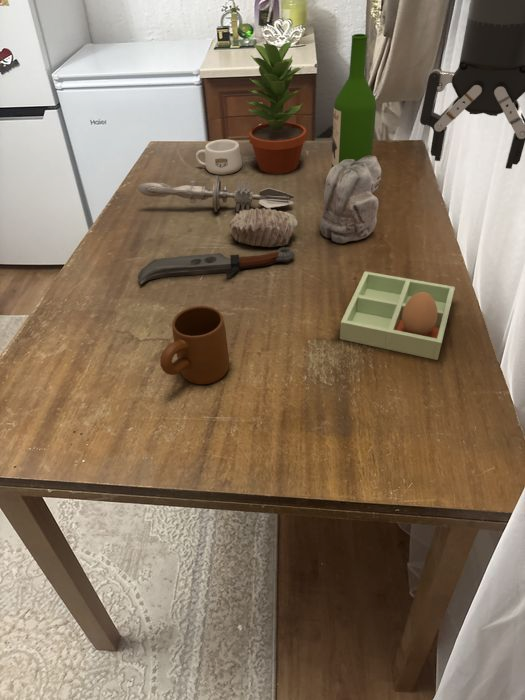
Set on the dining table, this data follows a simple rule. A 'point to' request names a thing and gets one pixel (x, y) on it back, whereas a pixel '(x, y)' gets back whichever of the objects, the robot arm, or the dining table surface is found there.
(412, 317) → the egg
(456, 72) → the robot arm
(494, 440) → the dining table surface
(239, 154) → the mug
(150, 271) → the knife
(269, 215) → the seashell
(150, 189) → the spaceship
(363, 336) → the egg tray
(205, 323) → the mug
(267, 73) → the potted plant
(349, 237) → the figurine
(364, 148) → the wine bottle
